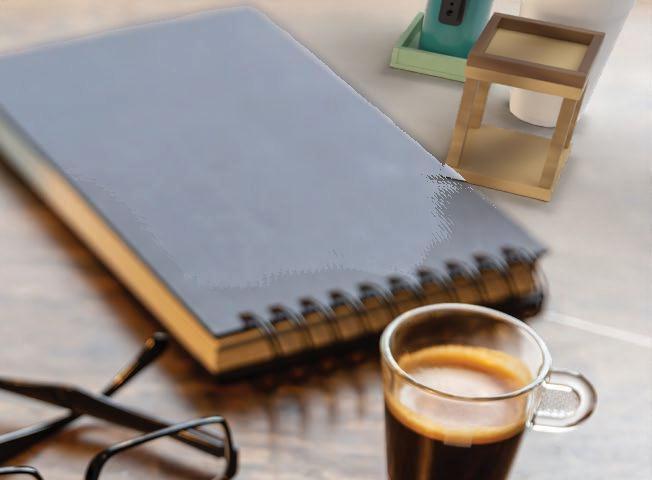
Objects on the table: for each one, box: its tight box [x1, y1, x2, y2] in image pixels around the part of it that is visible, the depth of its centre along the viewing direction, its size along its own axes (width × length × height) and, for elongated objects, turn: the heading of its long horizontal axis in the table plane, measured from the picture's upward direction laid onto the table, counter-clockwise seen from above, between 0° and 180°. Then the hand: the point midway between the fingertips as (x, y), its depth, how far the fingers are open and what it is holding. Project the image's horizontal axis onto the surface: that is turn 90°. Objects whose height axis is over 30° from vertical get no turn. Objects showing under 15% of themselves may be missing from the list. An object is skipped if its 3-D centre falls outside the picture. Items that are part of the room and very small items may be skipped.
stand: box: [444, 11, 606, 202], centre depth 109 cm, size 9×9×11 cm
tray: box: [389, 11, 467, 83], centre depth 127 cm, size 9×9×2 cm
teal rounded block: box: [417, 0, 495, 59], centre depth 125 cm, size 6×6×8 cm
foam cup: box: [508, 0, 638, 128], centre depth 115 cm, size 10×9×13 cm
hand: (461, 6), depth 125 cm, fingers open, 8 cm apart
